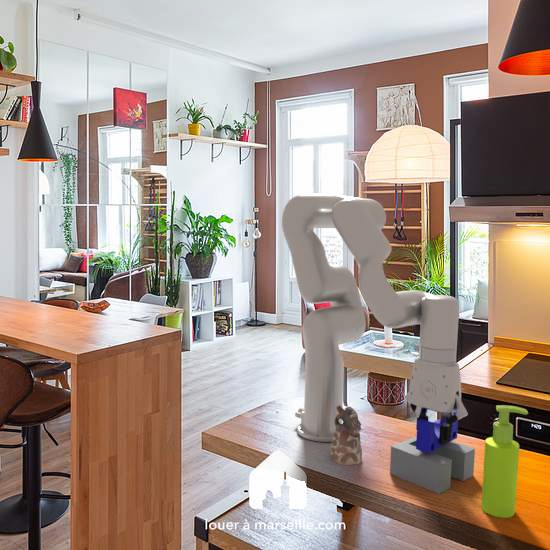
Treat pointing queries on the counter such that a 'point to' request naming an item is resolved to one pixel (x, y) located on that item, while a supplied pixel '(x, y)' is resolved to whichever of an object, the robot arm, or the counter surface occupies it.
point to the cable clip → (432, 434)
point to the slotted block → (432, 464)
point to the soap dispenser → (501, 466)
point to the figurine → (346, 438)
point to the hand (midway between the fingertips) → (433, 438)
